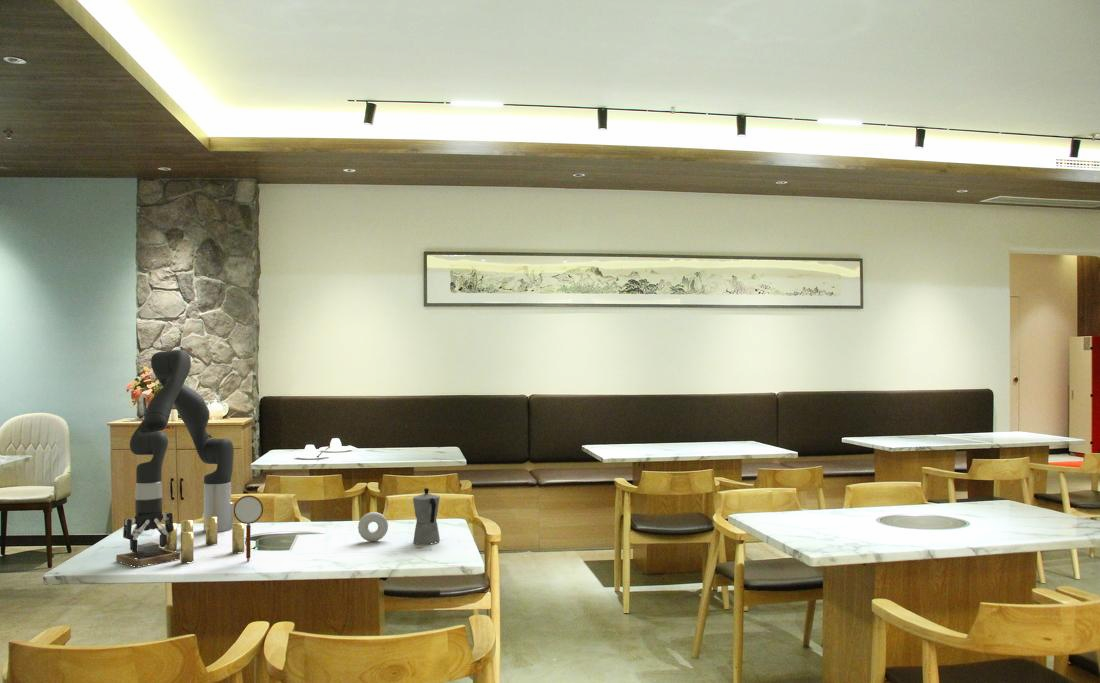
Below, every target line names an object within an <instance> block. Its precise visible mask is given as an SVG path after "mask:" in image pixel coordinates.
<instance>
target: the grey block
mask: <svg viewBox="0 0 1100 683" xmlns="http://www.w3.org/2000/svg"><path fill="white" fill-rule="evenodd" d="M159 547H160V543H156V542H152V541H151V542H146V543H141V544H139V543H138V544H137V551H138V558H137V559H138V560H140V559H145V558H151V557H156V556H160V555H159Z"/></svg>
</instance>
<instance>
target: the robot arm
mask: <svg viewBox="0 0 1100 683" xmlns="http://www.w3.org/2000/svg"><path fill="white" fill-rule="evenodd" d="M150 366H151V369H152V372H153V374H154V375H155V378H157V380H158V382H159V383H160V384H161V386H162V388H160V390H158V391H157V392H156V393H155V394H154V395H153V397H152V398H151V400H150V401H149V403H148V405H147V408H146V410H145V414H144V417H143V419H142V421H141V422H140V424H139V425H138V427H137V428H136V429H135V431H134V432H133V433H132V436H131V438H130V440H129V449H130V451H131V453H133V454H134V455H137V456H146V455H147V456H151V455H152V458H151V460H149V461H145V462H141V463H139V464H138V465H136V470H135V471H136V472H135V473H136V476H135V481H136V482H135V488H134V489H135V492H134V495H135V498H134V499H135V501H134V504H135V505H134V509H135V510H134V512H135V513H134V514H135V516H134V517H133V518H124V519H123V532H122V533H123V535H122V537H123V539H127V540H129V549H130V551H131V552H134V553H135V552H137V551H138V538H139V537H140V535H141V534H142V533H143V532H145V531H146V532H147V531H149V530H157V531H158V533H159V547H160V548H164V547H165V545H166V544H167V534H168V533H169V532H172V531H173V523H174V522H173V521H174V520H173V519H174V517H173V513H172V512H170V511H169V512H168V511H166V512H164V513H163V485H162V469H163V462H164V459H165V455H166V452H167V449H168V445H169V440H168V438H169V437H168V436H167V434H165V432H162V431H163V430H165V429H166V428H167V426H168V423H169V419H170V417H171V413H172V409H173V406H174V407H175V409H176V411H177V414H178V415H179V417H180V419H181V421H182V422H183V424H184V425H185V427H186V429H187V431H188V433H189V435H190V437H191V440H192V442H193V445H194V447H195V450H196V452H197V455H198V457H199V459H200V461H201V462H202V463H204V464H207V465H208V464H209V465H216V469H215V470H214V471H213V472H211V473H208V474H205V475H204V477H203V532H205V531H206V517H210V516H217V533H219V532H225V531H226V532H227V531H230V530H232V524H234V502H232V476H233V470H234V469H233V468H234V465H233V464H234V444H233V443H232V441H231V440H230V439H229V438H212V437H210V436H209V434H208V432H207V426H208V424H209V421H210V420H209V419H210V416H211V415H210V409H209V407H208V406H207V404H206V402H205V400H204V398H203V396H202V395H201V394H199V393H198V392H197V391H196V390H194V389H192V388H191V387H190V386H187V385H186V384H185V382H186V379H187V378H188V375H189V373H190V372H191V371H190V370H191V367H192V361H191V357H190V354H189V353H188V352H187V351H186V350H184V349H174V350H163V351H162V350H161V351H158V352H155V353H153V354H152V356H151V359H150ZM162 520H164V521H165V522H164V525H163V524H162ZM134 524H135V526H134V528H133V530H132V526H133V525H134ZM165 526H166V529H165Z"/></svg>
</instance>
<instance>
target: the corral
mask: <svg viewBox="0 0 1100 683" xmlns="http://www.w3.org/2000/svg"><path fill="white" fill-rule="evenodd" d="M160 555H161V556H160ZM135 558H137V559H135ZM175 559H179V560H181V552H178V551H177V552H175V551H171V550H168V549H164V547H160V546H159V556H156V557H151V558H145V559H140V560H138V550H137V552H135V553H134V552H132V551H131V552H125V553H121V554H120V553H119V554H116V558H115V561H118V562H117V563H119V562H122V563H121V564H123V563H125V564H124V565H126V564H128V565H127V566H129V565H132V566H135V567H134V568H136V567H138V566H143V565H148V564H154V565H156V564H155V563H159V564H162V563H161V562H164V563H167V562H166V561H169V562H172V561H171V560H174V561H176V560H175ZM132 566H131V567H132ZM143 567H144V566H143ZM138 568H139V567H138Z"/></svg>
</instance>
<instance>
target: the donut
mask: <svg viewBox="0 0 1100 683" xmlns="http://www.w3.org/2000/svg"><path fill="white" fill-rule="evenodd" d="M388 522H389V521H388V519H387V518H386V517H385V515H383V514H382V513H380V512H378V511H377V512H375V511H372V512H371V511H370V512H367V513H366V514H364V515H363V516H362V517H361V518H360V519H359V522H358V524H357V525H358V526H357V530H358V533H359V535H360V537H361V538H362V539H364V541H367V542H372V541H374V542H378V541H380V540H382V539H383V538H384V537H385V536H386V535H387V532H388V530H389V529H388V528H389V523H388ZM371 523H375V524H376V525H377V529H376V530H374V531H372V530H370V529H369V525H370V524H371Z"/></svg>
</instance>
